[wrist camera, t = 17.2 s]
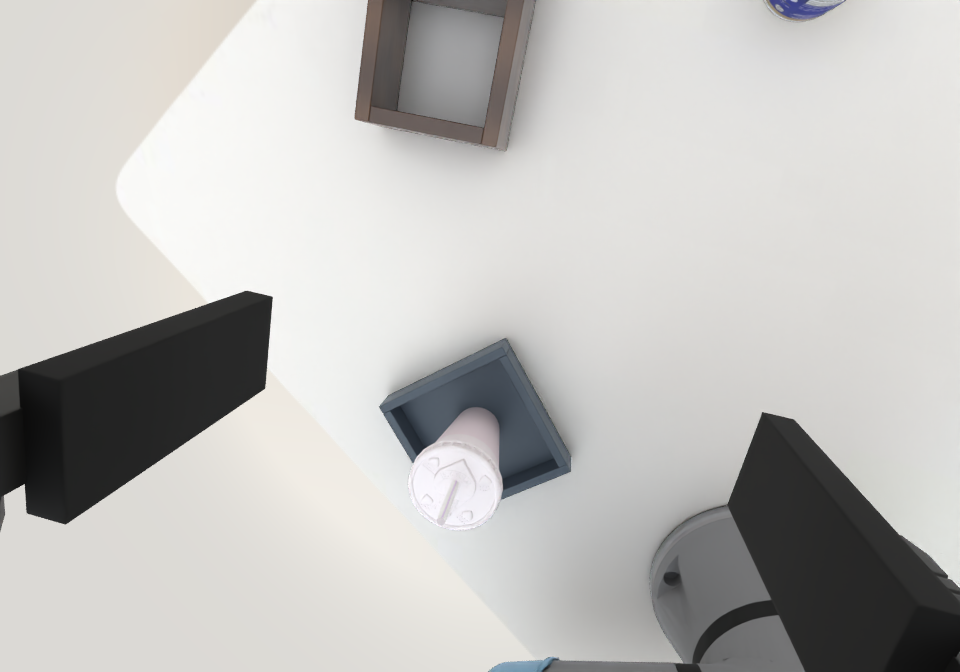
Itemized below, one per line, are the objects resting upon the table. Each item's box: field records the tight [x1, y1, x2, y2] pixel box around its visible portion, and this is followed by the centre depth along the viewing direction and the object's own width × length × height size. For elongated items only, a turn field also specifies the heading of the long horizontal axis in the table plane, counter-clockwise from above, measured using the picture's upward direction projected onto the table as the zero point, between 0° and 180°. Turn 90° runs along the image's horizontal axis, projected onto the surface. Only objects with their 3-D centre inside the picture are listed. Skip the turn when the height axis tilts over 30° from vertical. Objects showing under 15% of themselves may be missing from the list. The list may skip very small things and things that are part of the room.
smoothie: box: [408, 407, 503, 530], centre depth 40 cm, size 6×6×14 cm
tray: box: [379, 338, 571, 499], centre depth 46 cm, size 11×11×2 cm
